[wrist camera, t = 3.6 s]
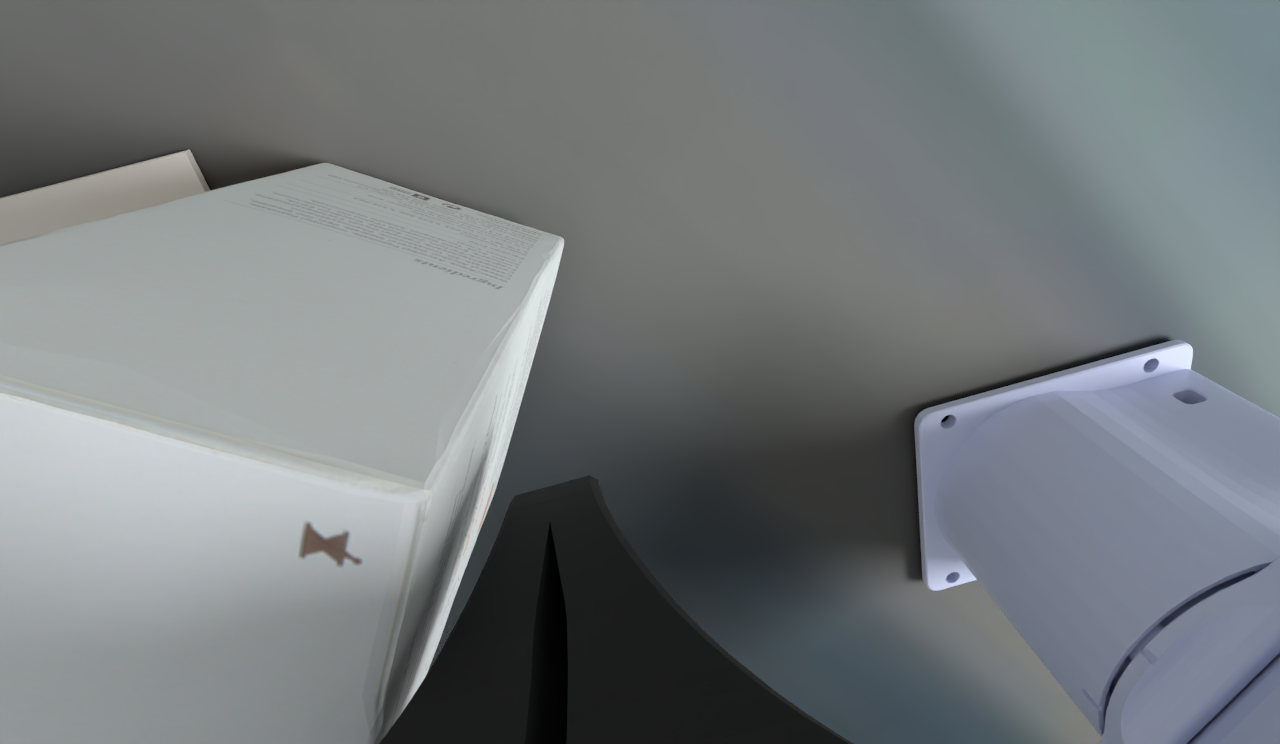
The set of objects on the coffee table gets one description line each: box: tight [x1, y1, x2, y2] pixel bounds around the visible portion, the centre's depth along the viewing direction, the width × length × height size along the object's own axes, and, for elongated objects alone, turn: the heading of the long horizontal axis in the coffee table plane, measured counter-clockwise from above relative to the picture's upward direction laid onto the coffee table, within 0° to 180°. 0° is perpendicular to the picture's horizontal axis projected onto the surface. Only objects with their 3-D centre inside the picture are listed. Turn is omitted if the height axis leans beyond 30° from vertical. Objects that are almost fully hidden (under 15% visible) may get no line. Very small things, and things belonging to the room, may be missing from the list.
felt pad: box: [0, 149, 210, 245], centre depth 20 cm, size 13×12×1 cm
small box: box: [0, 163, 564, 744], centre depth 14 cm, size 8×6×13 cm
